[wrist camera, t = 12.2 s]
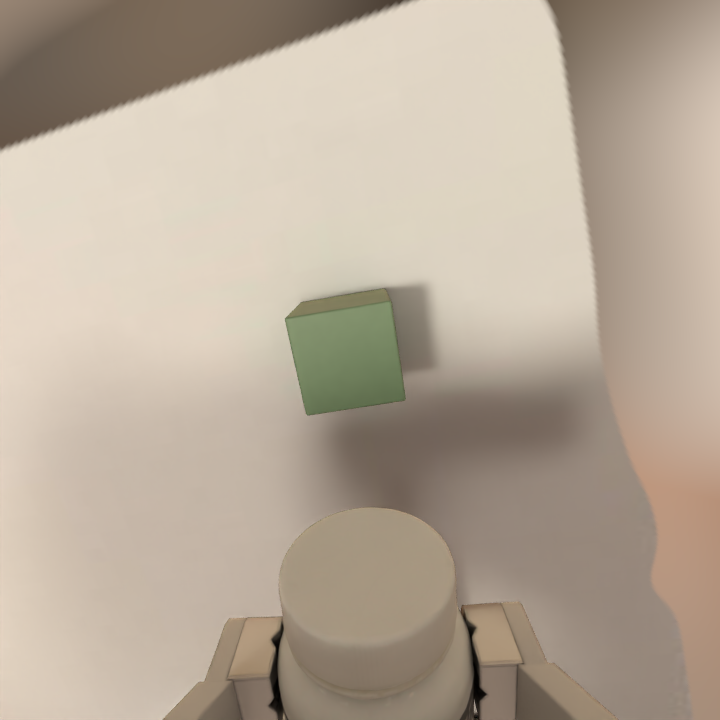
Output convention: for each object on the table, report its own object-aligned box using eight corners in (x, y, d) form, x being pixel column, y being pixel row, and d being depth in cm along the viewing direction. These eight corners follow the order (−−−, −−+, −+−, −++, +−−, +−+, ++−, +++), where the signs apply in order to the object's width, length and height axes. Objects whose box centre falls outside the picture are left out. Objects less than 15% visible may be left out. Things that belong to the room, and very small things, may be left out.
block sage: (397, 369, 20) (406, 401, 16) (316, 382, 20) (305, 416, 16) (385, 287, 19) (391, 300, 15) (300, 302, 19) (284, 318, 15)
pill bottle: (423, 685, 14) (415, 480, 12) (511, 873, 10) (528, 609, 8) (291, 743, 13) (253, 524, 11) (328, 988, 9) (277, 711, 6)
